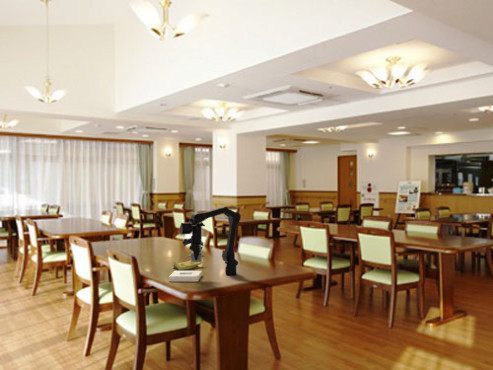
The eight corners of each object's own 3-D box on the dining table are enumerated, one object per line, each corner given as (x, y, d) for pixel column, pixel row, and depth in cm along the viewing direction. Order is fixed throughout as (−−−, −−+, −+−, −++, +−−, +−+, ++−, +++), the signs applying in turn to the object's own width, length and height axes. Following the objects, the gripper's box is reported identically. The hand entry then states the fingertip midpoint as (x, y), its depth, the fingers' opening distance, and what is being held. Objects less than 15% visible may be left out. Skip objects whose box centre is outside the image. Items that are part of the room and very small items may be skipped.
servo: (205, 260, 255) (205, 251, 255) (204, 261, 251) (204, 252, 251) (188, 260, 255) (188, 251, 255) (187, 261, 251) (187, 252, 251)
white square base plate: (201, 275, 261) (201, 270, 261) (197, 281, 245) (197, 276, 245) (174, 275, 262) (174, 270, 262) (169, 281, 246) (169, 276, 246)
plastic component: (180, 267, 276) (173, 259, 283) (178, 276, 279) (171, 268, 285) (205, 261, 288) (198, 253, 295) (203, 270, 291) (196, 262, 298)
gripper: (186, 232, 262) (185, 256, 262) (180, 235, 244) (180, 262, 244) (203, 232, 262) (203, 257, 262) (199, 235, 244) (199, 262, 243)
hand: (196, 259), depth 253 cm, fingers closed on servo, 4 cm apart
